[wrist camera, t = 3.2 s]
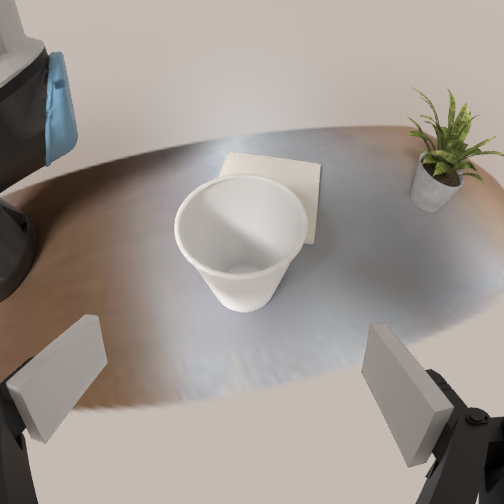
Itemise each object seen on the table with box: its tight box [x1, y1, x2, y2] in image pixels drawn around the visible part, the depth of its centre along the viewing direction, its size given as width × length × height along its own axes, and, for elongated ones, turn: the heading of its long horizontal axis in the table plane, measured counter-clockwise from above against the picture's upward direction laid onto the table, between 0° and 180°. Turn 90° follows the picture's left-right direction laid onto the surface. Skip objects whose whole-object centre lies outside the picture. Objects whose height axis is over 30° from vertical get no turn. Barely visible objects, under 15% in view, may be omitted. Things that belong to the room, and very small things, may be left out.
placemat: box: [218, 152, 321, 245], centre depth 38 cm, size 13×13×1 cm
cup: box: [174, 173, 308, 313], centre depth 27 cm, size 10×10×11 cm
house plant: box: [406, 89, 504, 213], centre depth 33 cm, size 14×14×16 cm
